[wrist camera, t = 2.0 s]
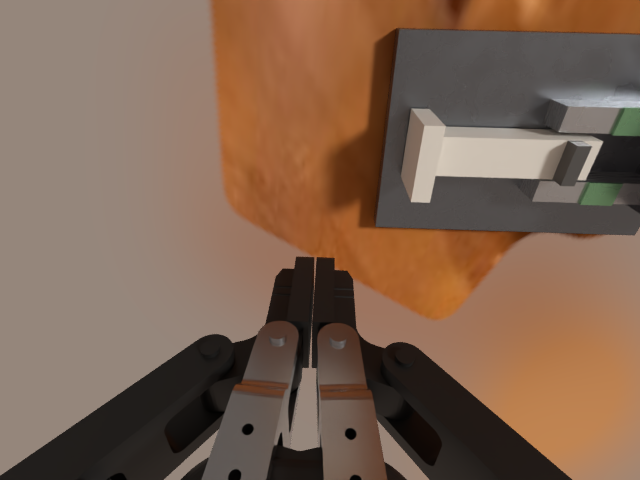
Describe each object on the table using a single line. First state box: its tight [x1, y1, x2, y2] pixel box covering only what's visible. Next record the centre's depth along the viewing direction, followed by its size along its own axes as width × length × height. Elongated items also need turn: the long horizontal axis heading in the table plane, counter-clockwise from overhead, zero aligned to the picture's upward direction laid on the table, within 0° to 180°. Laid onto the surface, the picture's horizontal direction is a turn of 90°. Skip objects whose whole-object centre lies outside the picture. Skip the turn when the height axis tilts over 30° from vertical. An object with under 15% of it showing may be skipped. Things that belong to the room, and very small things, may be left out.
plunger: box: [401, 108, 603, 203], centre depth 27 cm, size 6×13×5 cm, turn 89°
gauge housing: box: [374, 28, 640, 235], centre depth 27 cm, size 16×24×8 cm, turn 89°
